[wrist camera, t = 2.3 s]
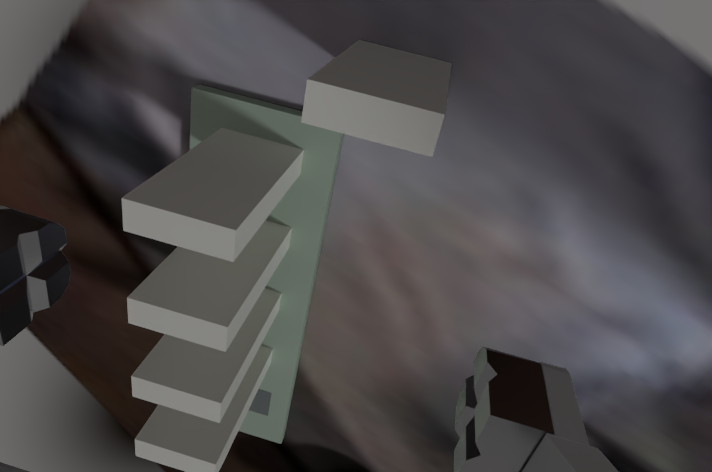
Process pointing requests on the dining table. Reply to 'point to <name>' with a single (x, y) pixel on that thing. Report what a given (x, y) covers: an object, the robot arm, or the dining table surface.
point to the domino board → (295, 210)
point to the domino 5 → (380, 96)
